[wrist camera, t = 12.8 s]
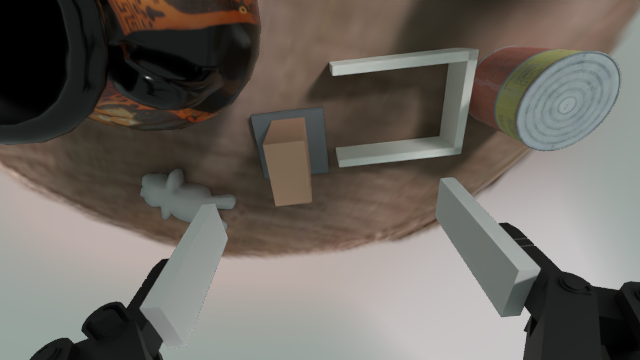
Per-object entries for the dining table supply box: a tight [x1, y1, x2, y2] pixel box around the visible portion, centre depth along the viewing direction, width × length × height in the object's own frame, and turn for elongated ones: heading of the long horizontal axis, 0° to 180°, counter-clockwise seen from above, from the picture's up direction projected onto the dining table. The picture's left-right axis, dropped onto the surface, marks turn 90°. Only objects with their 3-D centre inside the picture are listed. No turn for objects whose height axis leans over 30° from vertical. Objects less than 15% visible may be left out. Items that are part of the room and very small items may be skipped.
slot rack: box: [329, 47, 479, 167], centre depth 39 cm, size 19×14×5 cm
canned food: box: [468, 46, 621, 151], centre depth 36 cm, size 11×11×12 cm
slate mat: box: [251, 107, 329, 180], centre depth 43 cm, size 11×11×1 cm
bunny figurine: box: [140, 168, 237, 230], centre depth 46 cm, size 10×5×15 cm
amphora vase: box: [0, 0, 261, 145], centre depth 23 cm, size 22×22×28 cm
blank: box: [263, 117, 312, 206], centre depth 39 cm, size 5×9×10 cm, turn 5°
